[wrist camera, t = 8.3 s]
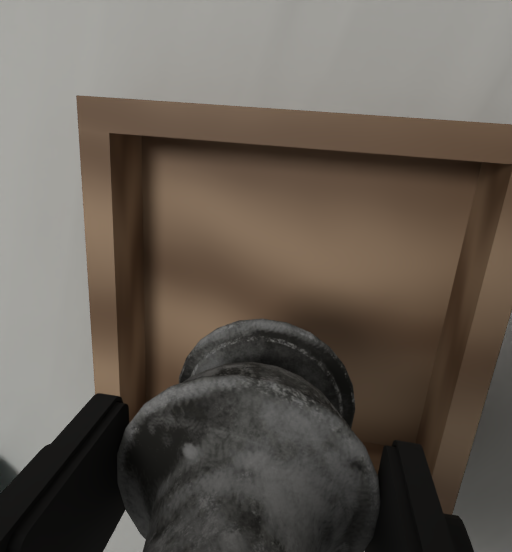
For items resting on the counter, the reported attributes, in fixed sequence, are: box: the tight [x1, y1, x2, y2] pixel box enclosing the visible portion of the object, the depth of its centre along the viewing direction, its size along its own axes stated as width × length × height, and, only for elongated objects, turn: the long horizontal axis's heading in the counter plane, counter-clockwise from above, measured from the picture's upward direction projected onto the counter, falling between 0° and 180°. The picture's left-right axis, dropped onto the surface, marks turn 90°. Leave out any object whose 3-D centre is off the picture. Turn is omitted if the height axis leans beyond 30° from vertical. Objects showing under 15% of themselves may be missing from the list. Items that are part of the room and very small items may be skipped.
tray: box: [76, 96, 512, 515], centre depth 18 cm, size 16×16×4 cm
